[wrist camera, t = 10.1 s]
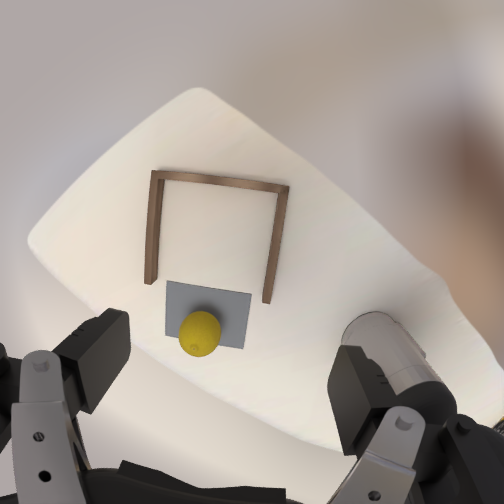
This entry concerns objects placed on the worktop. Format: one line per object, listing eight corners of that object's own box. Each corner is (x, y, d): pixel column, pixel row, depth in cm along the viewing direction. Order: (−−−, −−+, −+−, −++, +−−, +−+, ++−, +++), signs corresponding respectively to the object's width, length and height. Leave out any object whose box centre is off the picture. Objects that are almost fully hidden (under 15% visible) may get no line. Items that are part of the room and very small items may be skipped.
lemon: (224, 337, 41) (217, 369, 34) (188, 334, 41) (173, 364, 34) (224, 303, 40) (215, 331, 32) (185, 300, 40) (169, 327, 32)
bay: (287, 186, 36) (289, 186, 34) (269, 296, 40) (270, 304, 37) (158, 170, 36) (151, 170, 34) (150, 277, 40) (144, 283, 37)
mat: (251, 294, 40) (251, 294, 39) (243, 348, 42) (243, 348, 42) (166, 280, 40) (166, 280, 39) (165, 335, 42) (165, 335, 42)
